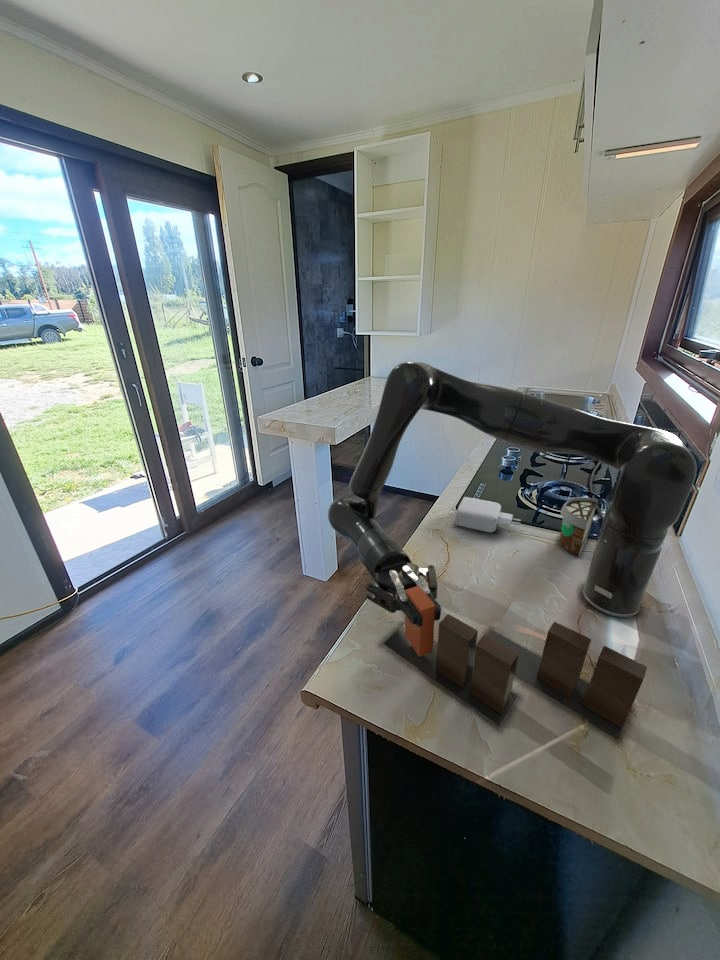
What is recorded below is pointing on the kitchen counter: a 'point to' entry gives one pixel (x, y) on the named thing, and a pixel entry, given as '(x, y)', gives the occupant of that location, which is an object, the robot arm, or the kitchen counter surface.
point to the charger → (482, 515)
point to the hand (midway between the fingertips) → (429, 618)
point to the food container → (576, 523)
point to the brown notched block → (561, 671)
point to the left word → (466, 666)
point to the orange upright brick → (424, 634)
